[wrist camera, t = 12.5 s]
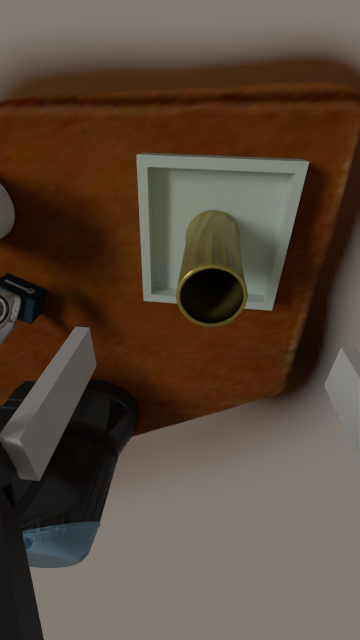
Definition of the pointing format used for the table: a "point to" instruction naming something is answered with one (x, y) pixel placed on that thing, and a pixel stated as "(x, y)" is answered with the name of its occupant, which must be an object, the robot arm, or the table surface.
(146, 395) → the table surface
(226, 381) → the table surface
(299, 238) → the table surface
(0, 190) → the candle holder
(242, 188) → the tray
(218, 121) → the table surface
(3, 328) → the watch
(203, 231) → the vase
